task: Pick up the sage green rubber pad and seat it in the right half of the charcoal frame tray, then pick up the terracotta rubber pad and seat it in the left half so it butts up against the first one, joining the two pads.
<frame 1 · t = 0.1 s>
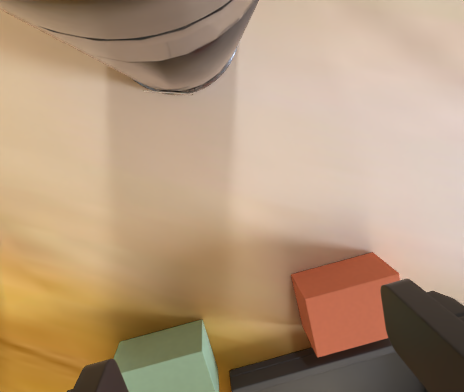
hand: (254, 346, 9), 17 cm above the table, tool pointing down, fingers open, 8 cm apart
terracotta pad: (336, 290, 29), on the table
sage pad: (170, 355, 29), on the table
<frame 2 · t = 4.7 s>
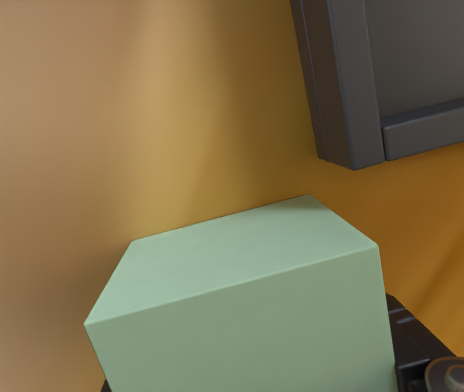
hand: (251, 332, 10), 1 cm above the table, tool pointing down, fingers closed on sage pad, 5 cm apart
sage pad: (249, 322, 11), on the table, touching gripper
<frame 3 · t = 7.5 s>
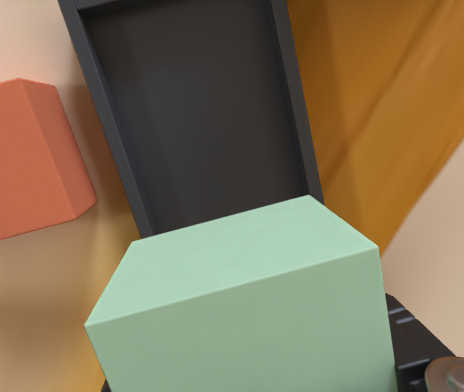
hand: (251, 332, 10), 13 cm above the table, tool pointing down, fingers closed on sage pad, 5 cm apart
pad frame: (212, 143, 21), on the table
terracotta pad: (35, 157, 20), on the table
sage pad: (249, 322, 11), point 12 cm above the table, touching gripper
when the fingers open (1 cm above the table, at t = 10.6 s): sage pad stays where it is, resting on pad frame.
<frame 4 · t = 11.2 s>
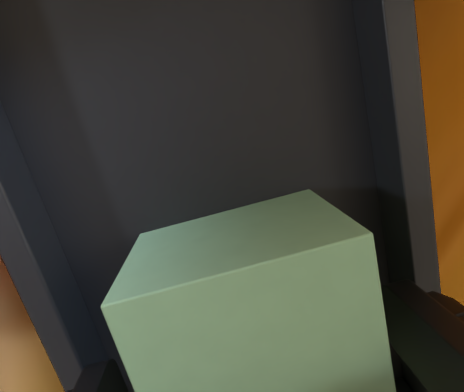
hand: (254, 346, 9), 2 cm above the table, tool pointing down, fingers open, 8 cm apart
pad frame: (217, 194, 11), on the table
sage pad: (252, 312, 11), point 1 cm above the table, touching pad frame
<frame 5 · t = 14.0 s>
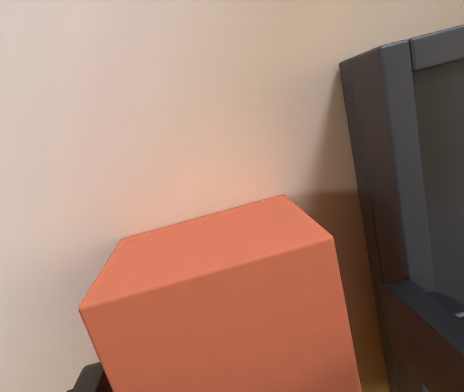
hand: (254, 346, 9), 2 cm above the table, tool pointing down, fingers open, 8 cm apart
terracotta pad: (231, 313, 11), on the table
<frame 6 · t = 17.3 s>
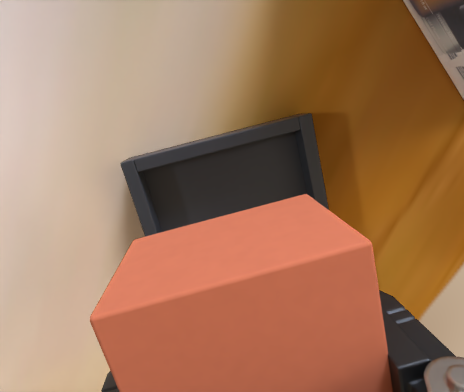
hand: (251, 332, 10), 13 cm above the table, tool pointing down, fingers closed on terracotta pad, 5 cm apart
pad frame: (247, 261, 23), on the table
terracotta pad: (248, 319, 11), point 12 cm above the table, touching gripper
when the fingers open (2 cm above the table, at t = 20.3 s): terracotta pad stays where it is, resting on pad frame.
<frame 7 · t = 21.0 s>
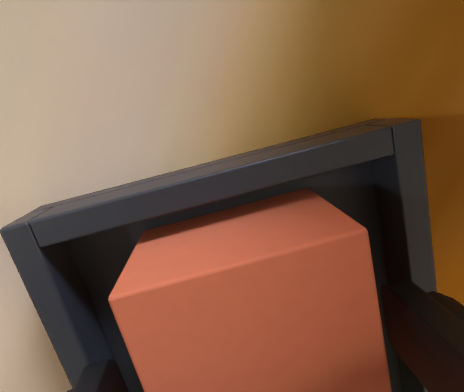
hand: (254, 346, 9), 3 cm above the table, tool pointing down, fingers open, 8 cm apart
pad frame: (269, 382, 13), on the table
terracotta pad: (252, 307, 11), point 1 cm above the table, touching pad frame
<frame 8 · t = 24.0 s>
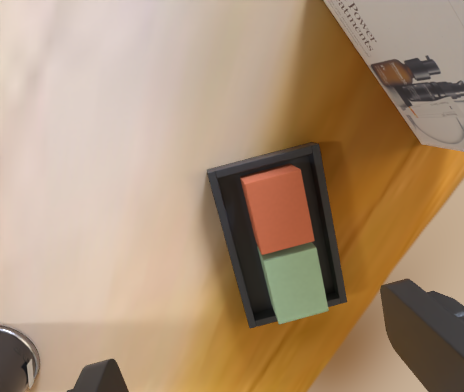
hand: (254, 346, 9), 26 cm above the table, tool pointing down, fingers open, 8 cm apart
skincare box: (384, 55, 33), on the table
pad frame: (277, 234, 37), on the table
terracotta pad: (272, 202, 35), point 1 cm above the table, touching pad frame
sage pad: (287, 269, 37), point 1 cm above the table, touching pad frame
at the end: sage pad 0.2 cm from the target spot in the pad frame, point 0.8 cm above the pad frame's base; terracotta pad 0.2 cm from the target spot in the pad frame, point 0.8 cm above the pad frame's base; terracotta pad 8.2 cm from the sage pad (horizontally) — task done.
